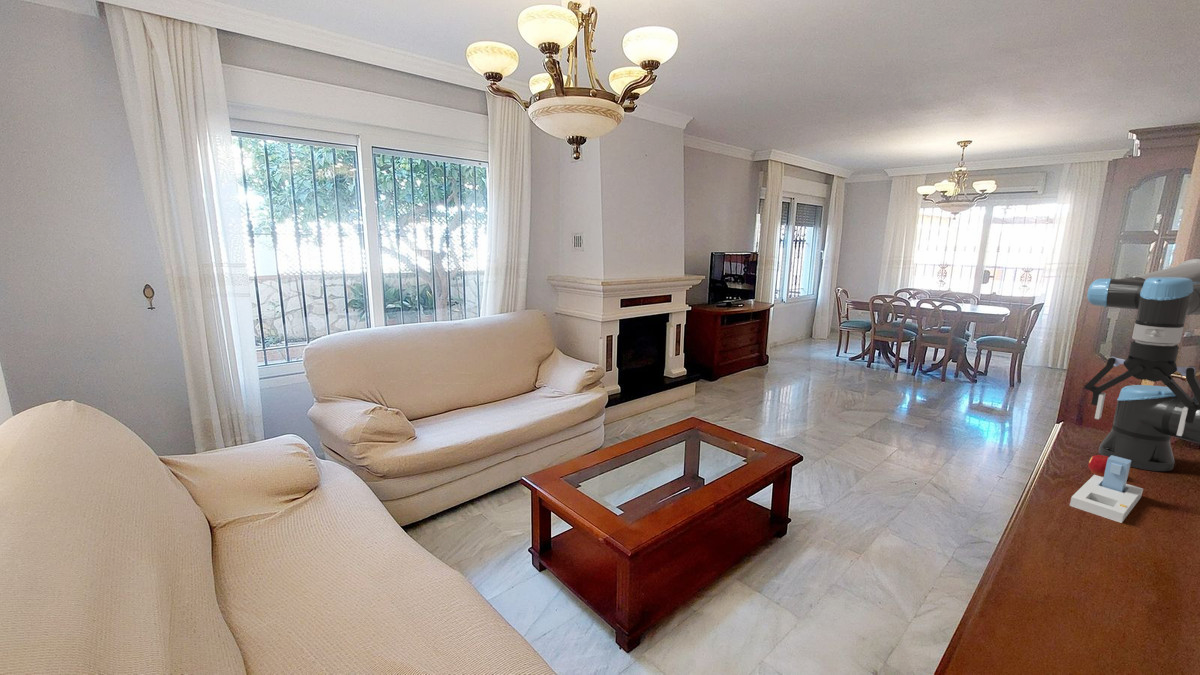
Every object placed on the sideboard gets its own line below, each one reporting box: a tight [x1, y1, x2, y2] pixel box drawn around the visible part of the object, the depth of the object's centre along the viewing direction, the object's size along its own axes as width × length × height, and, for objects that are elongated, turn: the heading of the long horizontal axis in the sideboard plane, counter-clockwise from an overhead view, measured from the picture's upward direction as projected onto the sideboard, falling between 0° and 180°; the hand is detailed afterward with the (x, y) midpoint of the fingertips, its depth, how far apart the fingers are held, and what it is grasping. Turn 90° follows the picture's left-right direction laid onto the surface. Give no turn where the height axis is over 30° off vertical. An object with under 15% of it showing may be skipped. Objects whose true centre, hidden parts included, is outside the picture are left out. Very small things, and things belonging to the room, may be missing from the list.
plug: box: [1102, 455, 1132, 493], centre depth 122 cm, size 4×4×10 cm
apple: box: [1088, 454, 1109, 477], centre depth 133 cm, size 8×8×6 cm
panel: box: [1069, 474, 1144, 524], centre depth 120 cm, size 20×9×3 cm, turn 123°
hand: (1136, 425), depth 117 cm, fingers open, 13 cm apart
